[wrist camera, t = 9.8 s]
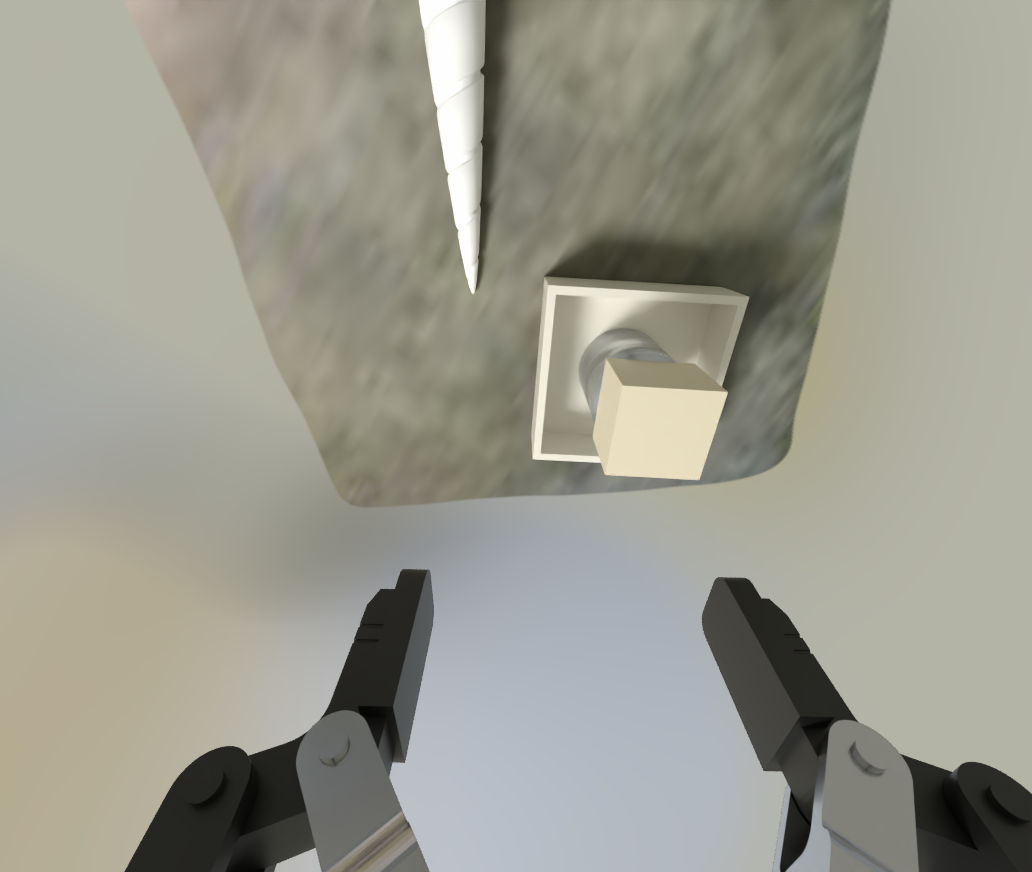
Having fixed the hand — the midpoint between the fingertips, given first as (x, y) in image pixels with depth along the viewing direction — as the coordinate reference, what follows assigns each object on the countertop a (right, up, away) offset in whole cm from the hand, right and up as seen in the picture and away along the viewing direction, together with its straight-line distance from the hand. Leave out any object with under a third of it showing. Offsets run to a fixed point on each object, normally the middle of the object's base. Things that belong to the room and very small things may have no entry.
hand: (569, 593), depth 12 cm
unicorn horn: (-5, +27, +16) cm, 32 cm away
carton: (+7, +7, +17) cm, 20 cm away
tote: (+7, +10, +24) cm, 27 cm away
